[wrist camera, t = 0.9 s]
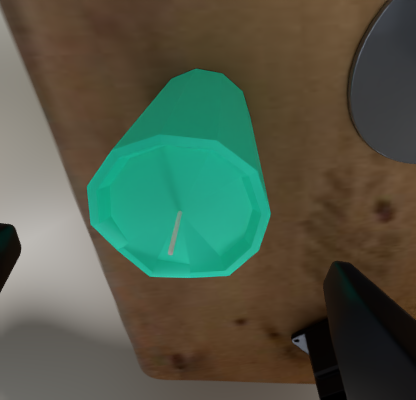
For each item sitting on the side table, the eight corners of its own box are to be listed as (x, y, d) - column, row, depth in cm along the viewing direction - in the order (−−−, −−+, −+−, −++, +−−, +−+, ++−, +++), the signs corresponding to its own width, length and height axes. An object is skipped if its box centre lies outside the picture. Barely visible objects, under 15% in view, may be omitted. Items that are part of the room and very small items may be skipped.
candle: (144, 73, 17) (25, 164, 7) (248, 63, 16) (282, 146, 6) (163, 166, 20) (100, 320, 10) (251, 160, 20) (275, 318, 10)
